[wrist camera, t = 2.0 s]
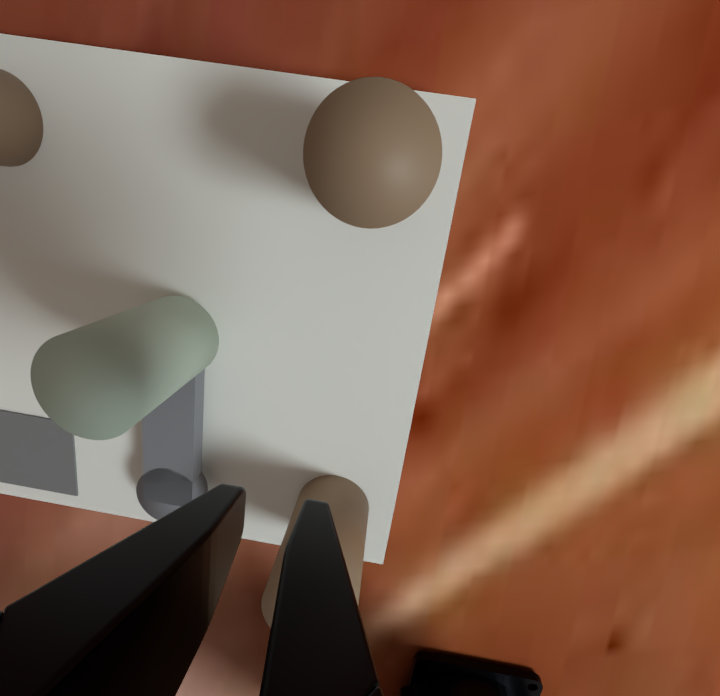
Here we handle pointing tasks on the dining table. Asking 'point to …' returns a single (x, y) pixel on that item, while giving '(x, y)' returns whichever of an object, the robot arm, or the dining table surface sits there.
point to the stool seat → (228, 270)
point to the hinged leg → (137, 390)
